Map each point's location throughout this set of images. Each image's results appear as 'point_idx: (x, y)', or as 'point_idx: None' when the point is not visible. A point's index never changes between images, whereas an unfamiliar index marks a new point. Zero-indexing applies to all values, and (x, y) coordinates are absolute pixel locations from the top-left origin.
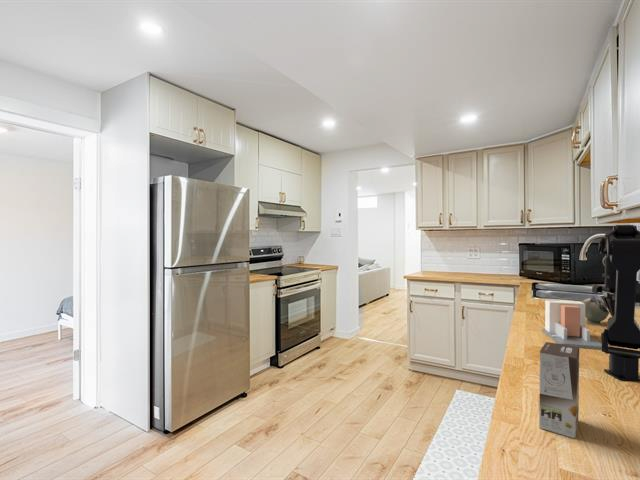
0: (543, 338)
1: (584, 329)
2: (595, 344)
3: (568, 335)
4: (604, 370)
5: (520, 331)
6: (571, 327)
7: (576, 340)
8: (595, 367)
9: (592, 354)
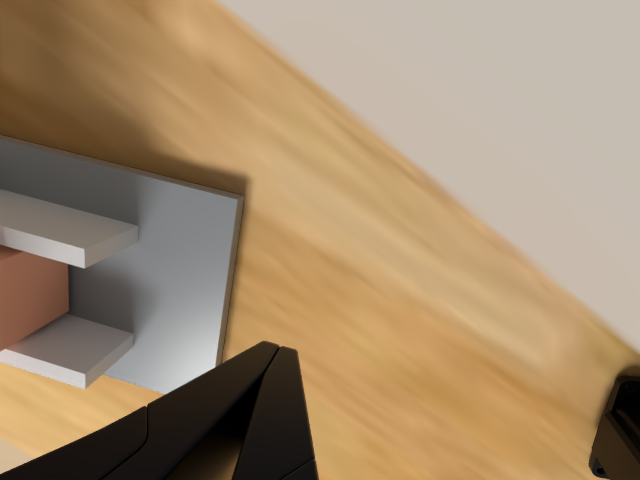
0: (98, 391)
1: (51, 256)
2: (196, 237)
3: (67, 294)
4: (601, 475)
5: (4, 420)
6: (17, 304)
7: (136, 293)
8: (529, 459)
9: (335, 337)
